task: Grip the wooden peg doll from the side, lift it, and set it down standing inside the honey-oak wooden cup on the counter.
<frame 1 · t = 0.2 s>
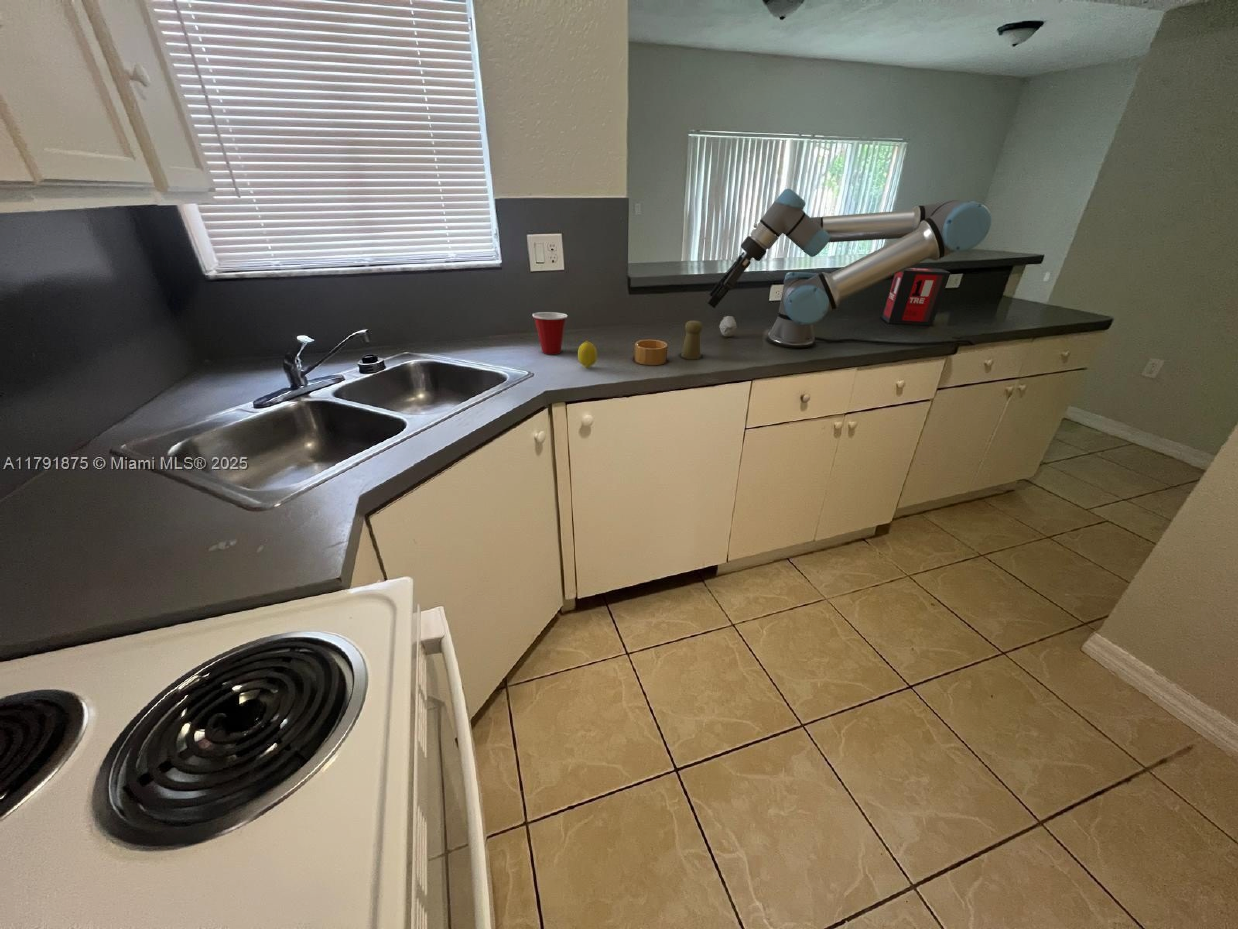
hand: (711, 301, 156), 15 cm above the worktop, tool tilted 35°, fingers open, 13 cm apart
wooden peg doll: (690, 356, 155), on the worktop
crumpled white ball: (726, 336, 175), on the worktop
cleaning product box: (906, 322, 199), on the worktop
plastic cup: (551, 352, 156), on the worktop
wooden cup: (650, 360, 151), on the worktop
lemon: (587, 368, 143), on the worktop
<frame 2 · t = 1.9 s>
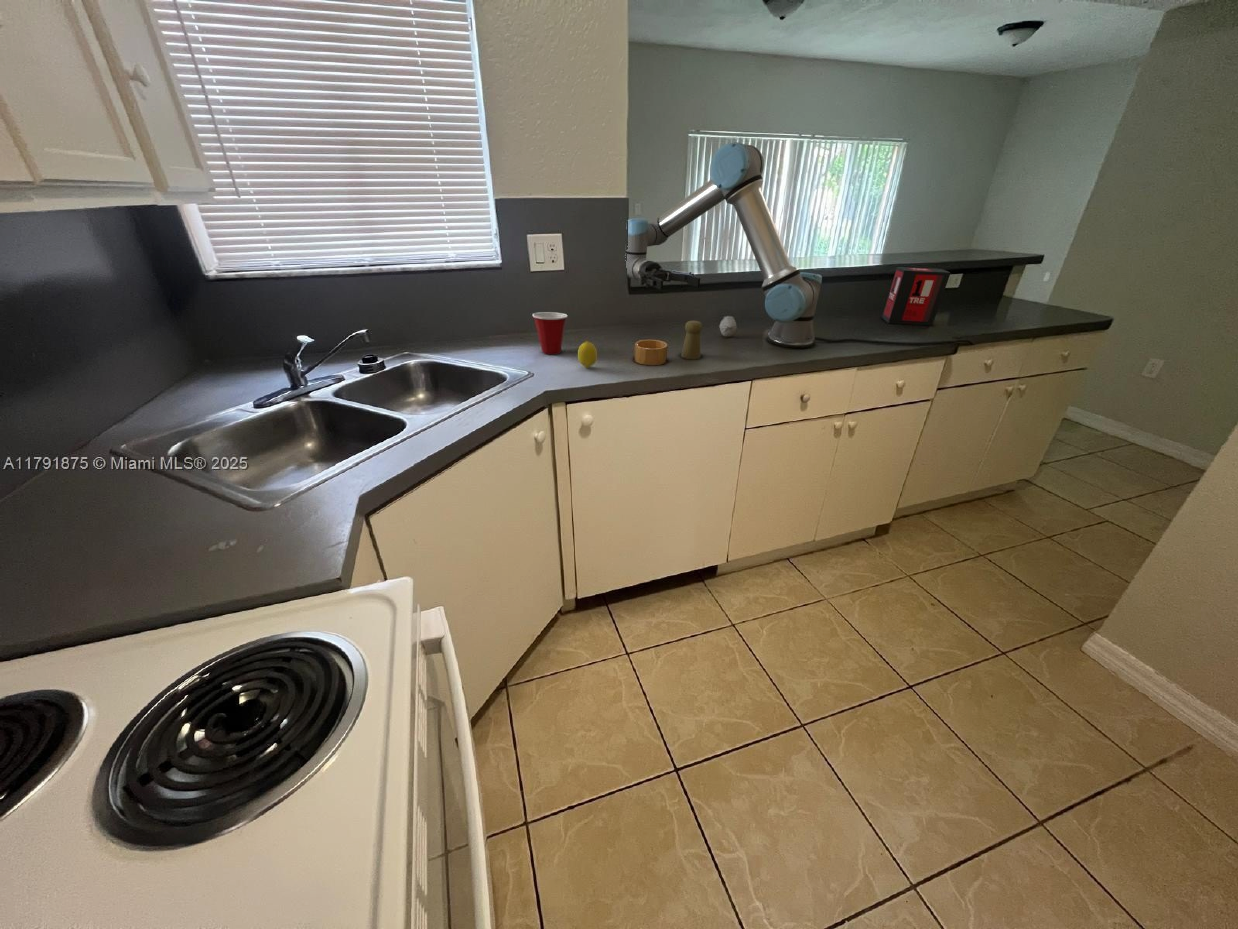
hand: (680, 283, 151), 20 cm above the worktop, tool horizontal, fingers open, 13 cm apart
nothing on the worktop moved.
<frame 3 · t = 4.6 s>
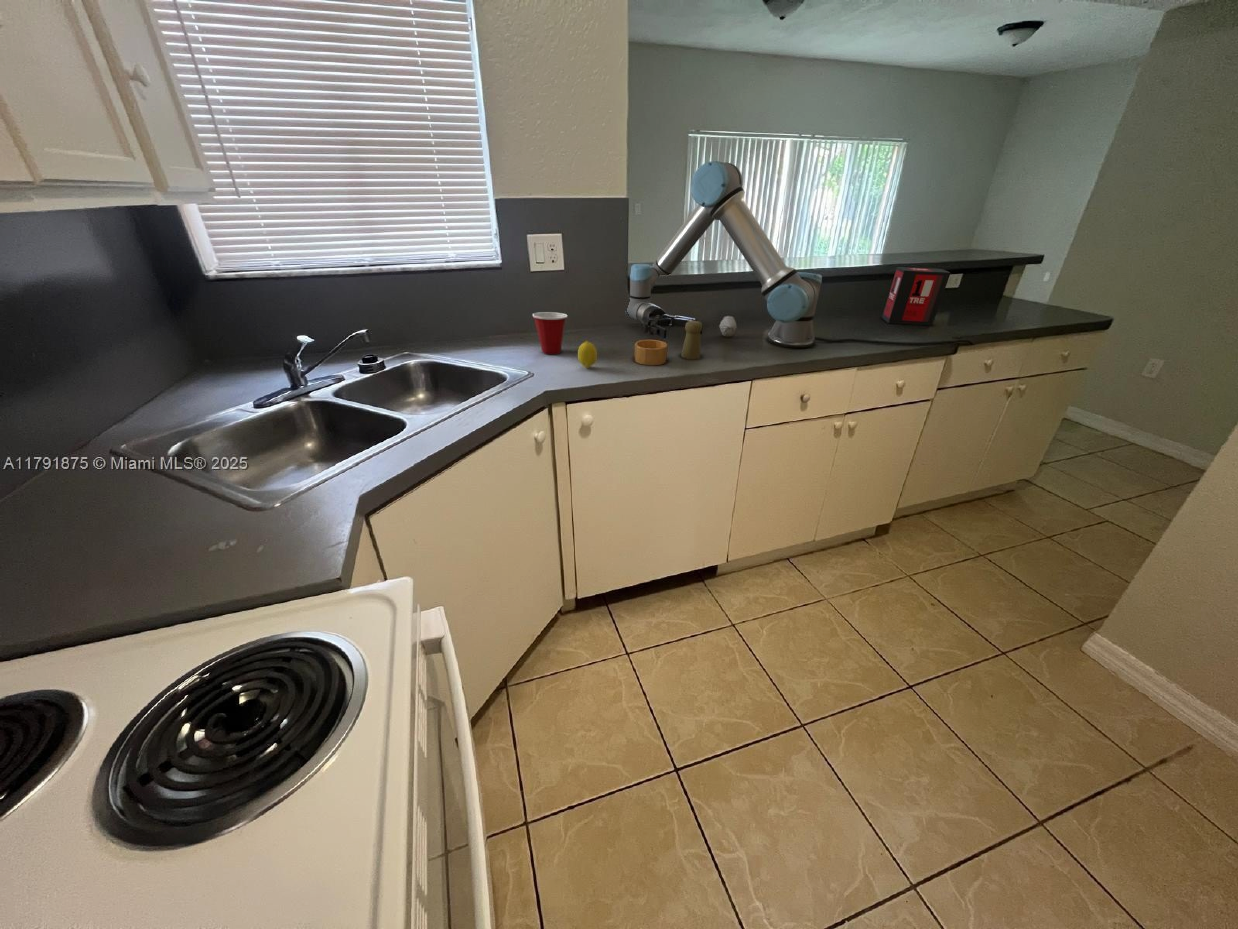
hand: (683, 331, 155), 6 cm above the worktop, tool horizontal, fingers open, 13 cm apart
nothing on the worktop moved.
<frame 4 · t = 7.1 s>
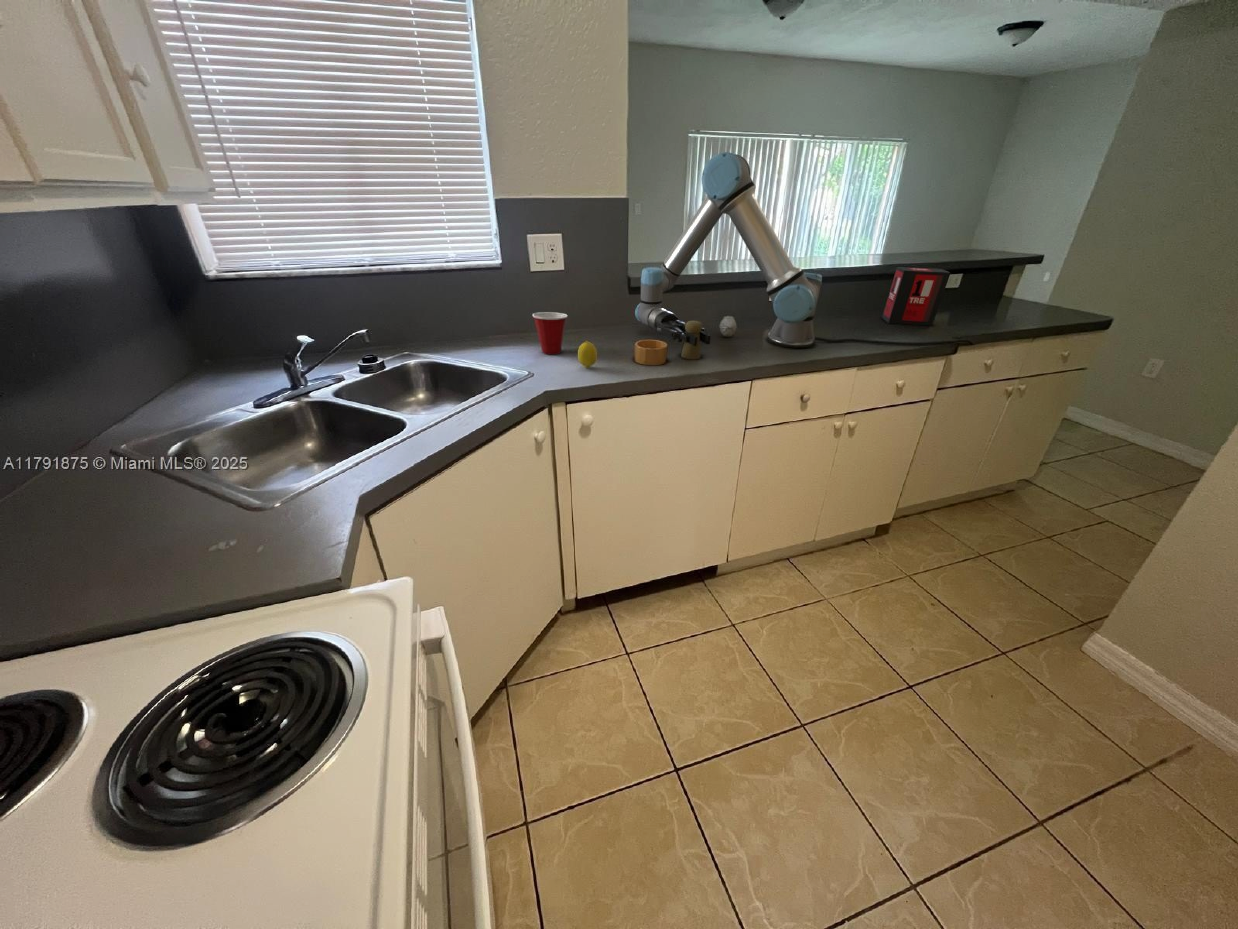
hand: (702, 340, 147), 6 cm above the worktop, tool horizontal, fingers closed on wooden peg doll, 4 cm apart
wooden peg doll: (690, 356, 155), on the worktop, touching gripper
everything else where it was.
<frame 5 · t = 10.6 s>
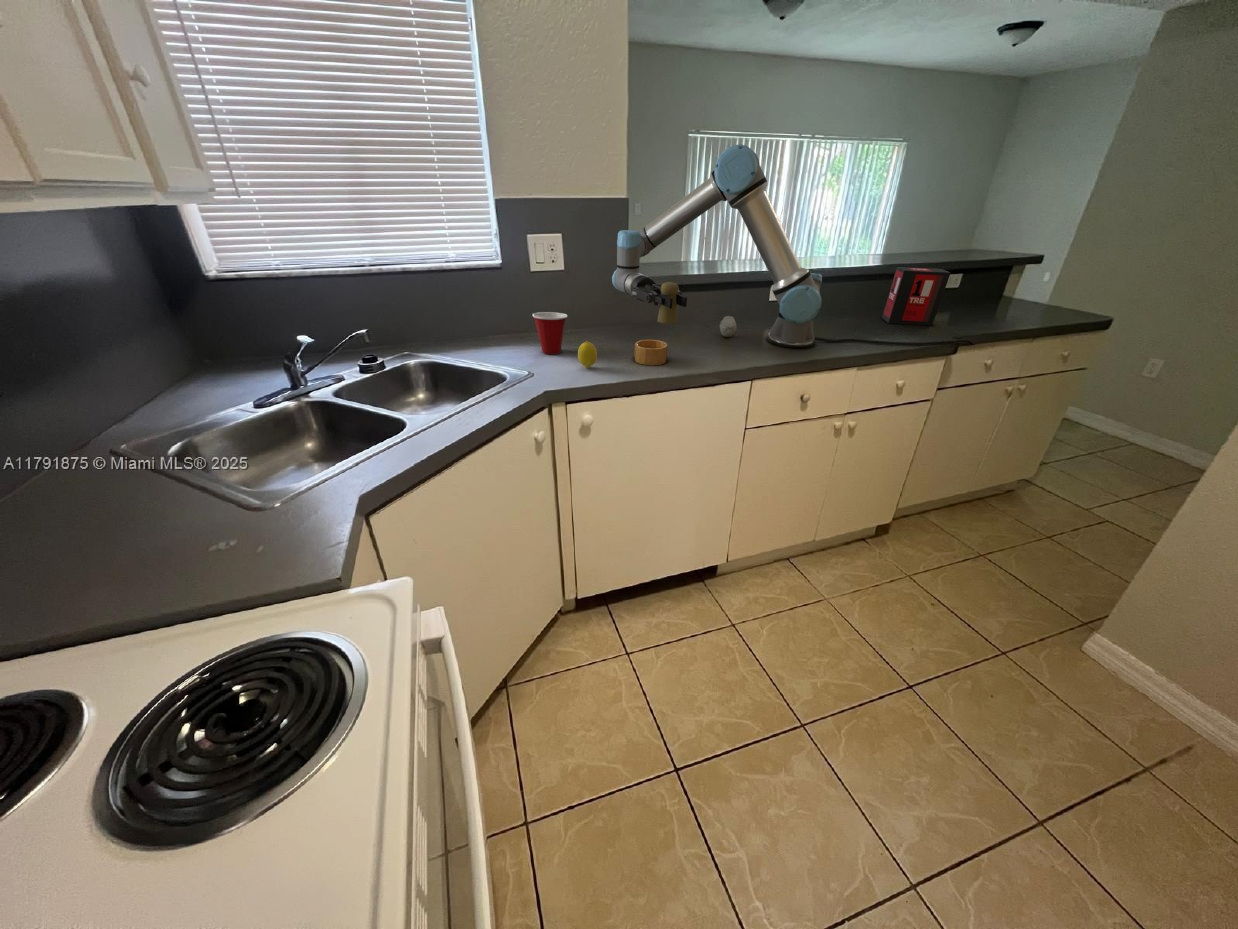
hand: (678, 302, 139), 18 cm above the worktop, tool horizontal, fingers closed on wooden peg doll, 4 cm apart
wooden peg doll: (667, 321, 146), point 11 cm above the worktop, touching gripper
everything else where it was.
when the fingers open (7 cm above the worktop, at t = 14.4 s): wooden peg doll stays where it is, resting on wooden cup.
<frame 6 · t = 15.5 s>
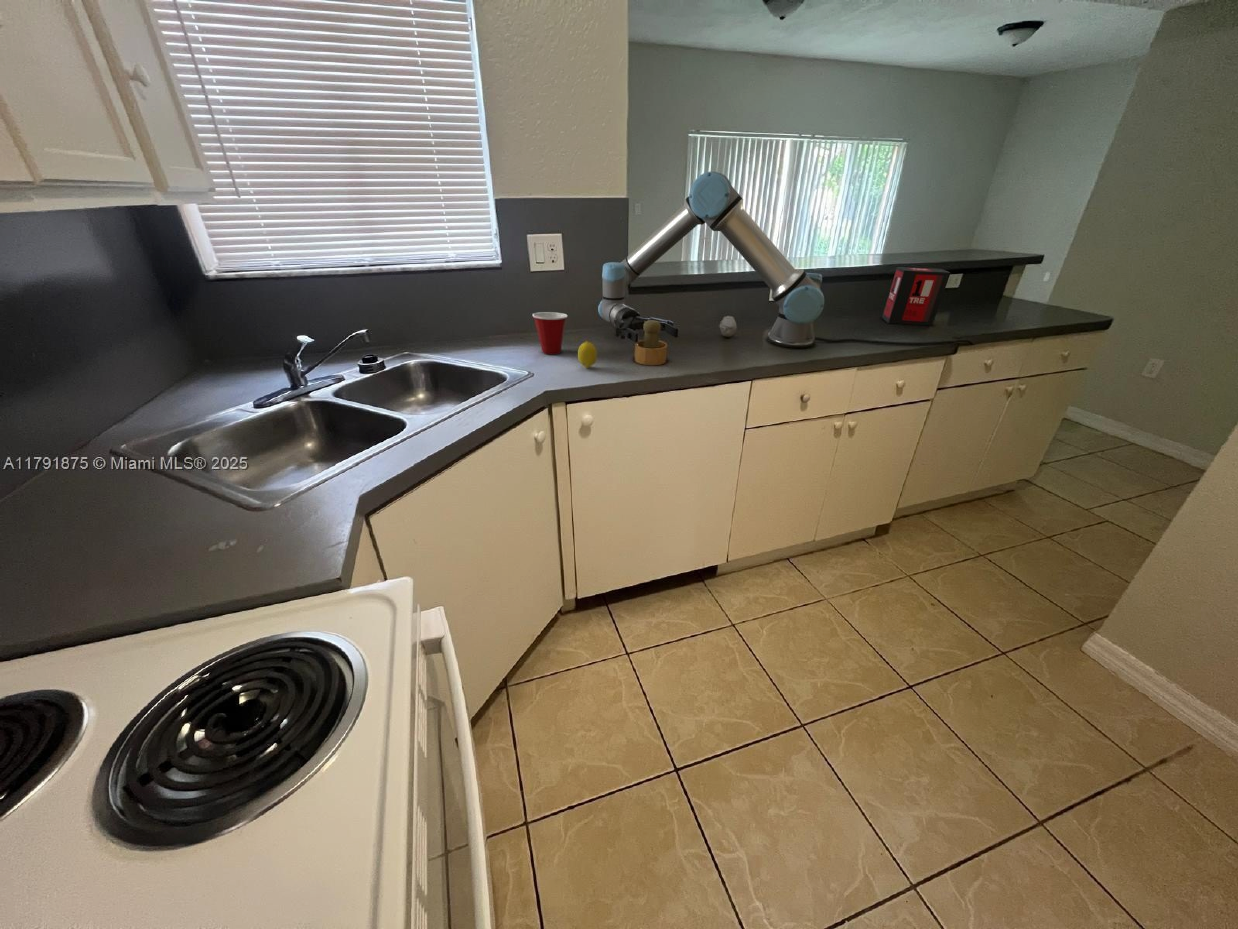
hand: (657, 335, 144), 9 cm above the worktop, tool horizontal, fingers open, 13 cm apart
wooden peg doll: (650, 357, 150), point 1 cm above the worktop, touching wooden cup
everything else where it was.
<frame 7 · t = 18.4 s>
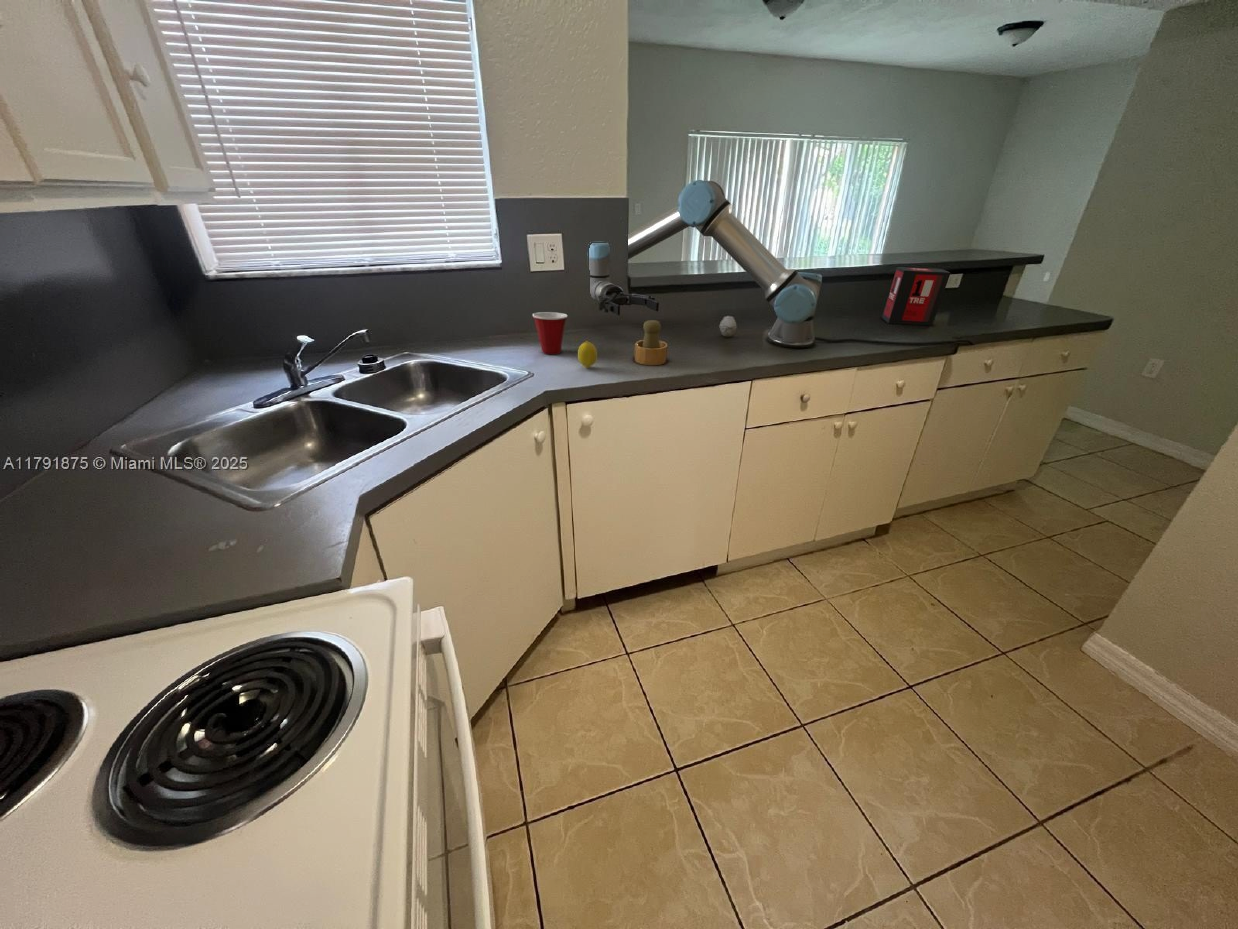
hand: (638, 308, 151), 14 cm above the worktop, tool horizontal, fingers open, 13 cm apart
nothing on the worktop moved.
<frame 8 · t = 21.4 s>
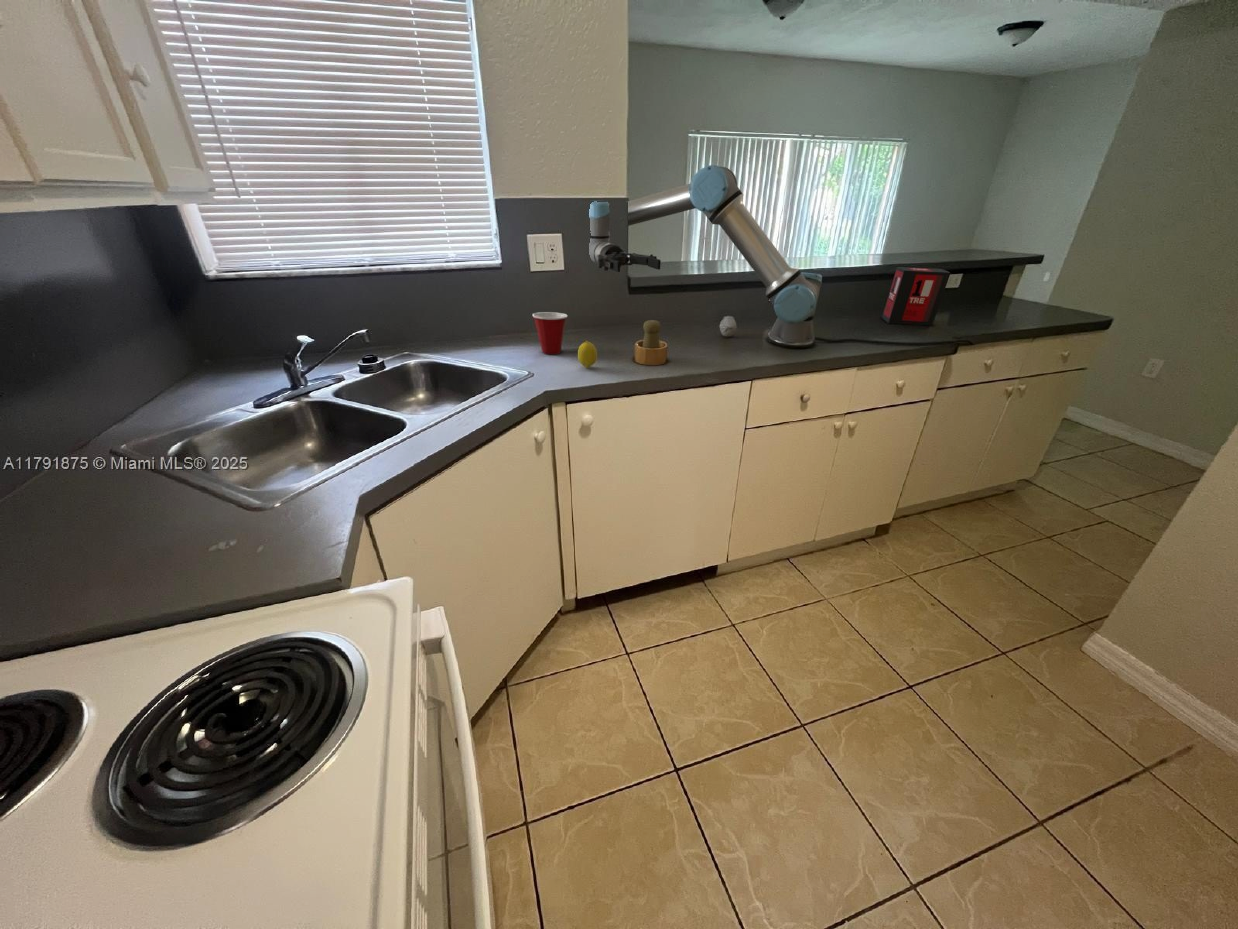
hand: (639, 265, 145), 26 cm above the worktop, tool horizontal, fingers open, 13 cm apart
nothing on the worktop moved.
at the end: wooden peg doll 0.1 cm off-centre in the wooden cup, point 0.8 cm above the wooden cup's base; wooden peg doll tilted 0°; the gripper is holding nothing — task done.
